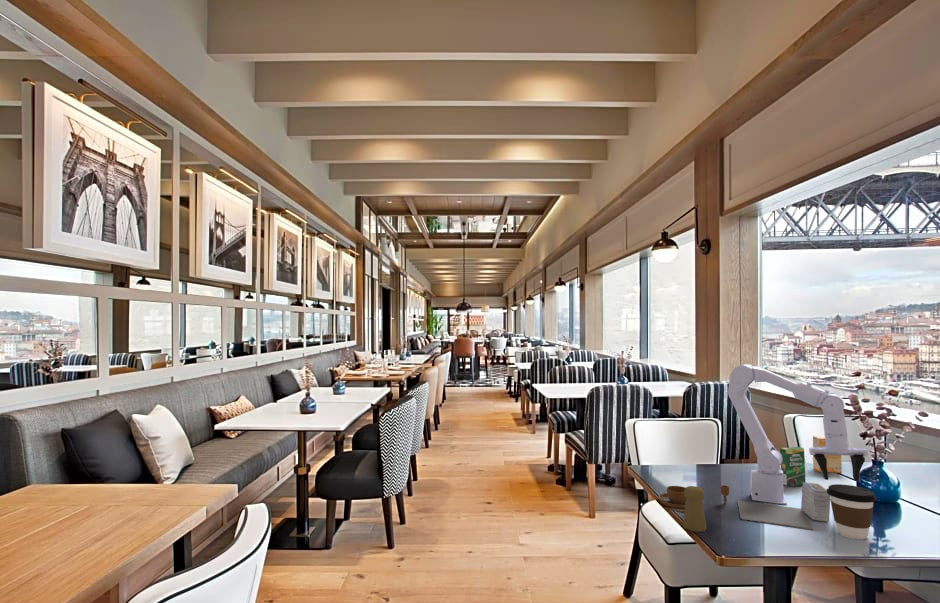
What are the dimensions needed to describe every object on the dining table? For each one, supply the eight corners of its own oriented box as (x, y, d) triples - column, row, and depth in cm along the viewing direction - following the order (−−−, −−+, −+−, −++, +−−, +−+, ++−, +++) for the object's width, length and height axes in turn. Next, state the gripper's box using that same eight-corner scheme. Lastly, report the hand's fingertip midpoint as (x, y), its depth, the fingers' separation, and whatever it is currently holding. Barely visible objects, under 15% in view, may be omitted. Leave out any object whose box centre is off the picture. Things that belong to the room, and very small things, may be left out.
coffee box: (786, 487, 180) (785, 449, 180) (780, 484, 182) (779, 447, 183) (806, 485, 181) (805, 448, 182) (799, 483, 184) (798, 446, 185)
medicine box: (829, 522, 147) (831, 492, 147) (812, 520, 148) (814, 489, 148) (816, 512, 155) (818, 483, 155) (800, 510, 156) (802, 481, 156)
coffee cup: (856, 527, 144) (855, 483, 144) (889, 543, 133) (887, 496, 134) (818, 527, 144) (816, 483, 144) (847, 543, 133) (846, 496, 133)
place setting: (664, 493, 174) (664, 475, 174) (730, 504, 163) (730, 485, 163) (653, 508, 159) (653, 489, 159) (725, 522, 148) (724, 501, 149)
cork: (705, 524, 145) (704, 485, 145) (707, 532, 139) (707, 491, 140) (682, 522, 147) (681, 482, 147) (683, 529, 141) (683, 489, 142)
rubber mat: (740, 519, 149) (740, 518, 149) (737, 501, 164) (737, 500, 164) (813, 530, 141) (813, 528, 141) (802, 510, 157) (802, 508, 157)
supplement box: (819, 472, 198) (818, 438, 199) (812, 468, 203) (812, 435, 204) (842, 473, 197) (841, 438, 198) (835, 470, 202) (834, 436, 202)
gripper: (811, 436, 156) (816, 481, 155) (869, 436, 151) (874, 484, 150) (805, 432, 162) (810, 476, 161) (860, 432, 157) (866, 478, 156)
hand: (840, 479), depth 156 cm, fingers open, 7 cm apart
